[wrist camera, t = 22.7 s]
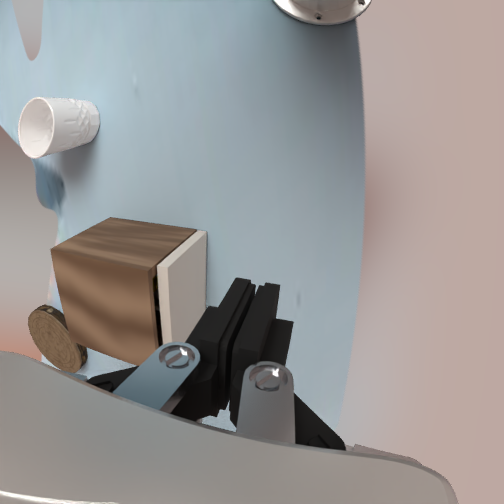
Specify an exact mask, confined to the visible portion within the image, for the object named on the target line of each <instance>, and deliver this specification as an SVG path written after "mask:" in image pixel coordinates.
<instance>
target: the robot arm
mask: <svg viewBox="0 0 504 504" xmlns="http://www.w3.org/2000/svg"><path fill="white" fill-rule="evenodd" d="M273 1H274V2H275V3H276V5H277V6H278V7H279V8H280V9H281V10H282V11H284V12H285V13H287V14H288V15H290V16H291V17H293V18H296V19H298V20H300V21H303V22H307V23H310V24H317V25H335V24H341V23H345V22H348V21H351V20H353V19H354V18H356V17H358V16H360V15H361V14H362V13H363V12H364V11H365V10H366V9H367V8H368V6H369V5H370V3H371V1H372V0H273ZM359 4H362V5H363V6H361V5H359ZM318 17H319V18H321V20H317V18H318ZM255 288H256V285H255V284H251V280H248V279H242V278H235V280H234V282H233V283H232V285H231V287H230V288H229V290H228V292H227V293H226V295H225V297H224V298H223V300H222V302H221V304H220V305H219V307H213V306H208V308H207V309H206V310H205V312H204V313H203V315H202V317H201V318H200V320H199V321H198V323H197V324H196V326H195V327H194V329H193V330H192V332H191V334H190V335H189V337H188V338H187V340H186V341H185V343H184V342H171V343H167V344H164V345H162V346H161V347H159V348H158V349H157V350H156V351H155V352H154V353H153V354H152V355H150V356H149V357H148V358H147V359H146V360H145V361H144V362H143V363H142V364H141V365H140V366H136V367H132V368H128V369H124V370H120V371H115V372H111V373H107V374H102V375H98V376H95V377H92V378H90V379H89V380H88V379H87V376H84V375H80V374H75V373H70V372H66V371H62V370H58V369H56V368H54V367H52V366H49V365H47V364H45V363H42V362H40V361H38V360H36V359H33V358H30V357H27V356H25V355H21V354H18V353H14V352H6V351H0V504H458V501H457V498H456V495H455V492H454V490H453V488H452V486H451V484H450V483H449V482H448V481H447V479H446V478H444V477H443V476H442V475H441V474H439V473H438V472H436V471H434V470H432V469H430V468H428V467H425V466H422V464H421V463H419V462H418V461H417V460H415V459H413V458H410V457H405V456H401V455H396V454H392V453H388V452H384V451H380V450H376V449H372V448H368V447H365V446H361V445H357V444H355V445H354V447H352V446H348V445H345V444H344V442H343V440H342V439H341V438H340V437H339V436H338V435H337V434H336V433H335V432H334V431H333V430H332V429H331V428H330V427H329V426H328V425H327V424H325V423H324V422H323V421H322V420H321V419H320V418H319V417H318V416H317V415H316V414H315V413H314V412H313V411H312V410H311V409H310V408H309V407H308V406H307V405H306V404H305V403H304V402H303V401H302V400H301V399H300V398H299V397H298V396H297V395H296V394H295V393H294V384H293V376H292V374H291V372H290V371H289V370H288V369H287V368H286V367H285V364H286V359H287V354H288V349H289V344H290V339H291V333H292V328H293V321H287V320H281V319H276V313H277V306H278V299H279V291H280V285H277V284H271V283H265V285H264V286H261V285H259V287H258V290H257V292H256V294H255ZM229 399H230V402H229ZM228 402H229V411H230V420H231V422H232V423H233V424H234V426H235V427H236V428H237V429H236V432H233V431H229V430H225V429H221V428H217V427H213V426H209V425H205V424H202V418H204V417H207V416H214V417H217V415H218V413H219V410H220V409H222V410H225V409H226V407H227V404H228Z"/></svg>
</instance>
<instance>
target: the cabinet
mask: <svg viewBox="0 0 504 504" xmlns="http://www.w3.org/2000/svg"><path fill="white" fill-rule="evenodd" d="M196 232H197V229H190V228H183V227H176V226H169V225H162V224H155V223H148V222H141V221H134V220H126V219H119V218H112V217H110V218H108V219H106V220H104V221H102V222H100V223H98V224H96V225H94V226H92V227H91V228H89V229H87V230H85V231H83V232H81V233H79V234H77V235H75V236H73V237H72V238H70V239H68V240H66V241H64V242H62V243H61V244H59V245H57V246H55V247H53V248H52V249H51V255H52V261H53V267H54V272H55V277H56V282H57V287H58V291H59V296H60V300H61V304H62V309H63V313H64V317H65V320H66V324H67V328H68V332H69V335H70V339H71V341H73V342H75V343H78V344H80V345H82V346H85V347H87V348H90V349H93V350H95V351H98V352H100V353H103V354H106V355H108V356H111V357H114V358H117V359H119V360H122V361H125V362H128V363H131V364H134V365H137V366H140V365H141V364H142V363H143V362H144V361H145V360H146V359H147V358H148V357H149V356H150V355H152V354H153V353H154V352H155V351H156V350H157V349H158V348H159V347H161V346H162V345H163V337H162V327H161V316H160V311H158V310H155V306H154V294H153V281H152V278H153V277H154V276H155V275H156V274H157V265H158V264H160V263H161V262H162V261H163V260H164V259H165V258H166V257H168V256H169V255H170V254H171V253H172V252H173V251H174V250H176V249H177V248H178V247H179V246H180V245H181V244H183V243H184V242H185V241H186V240H187V239H188V238H190V237H191V236H192V235H193V234H194V233H196Z"/></svg>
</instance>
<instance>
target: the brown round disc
mask: <svg viewBox="0 0 504 504" xmlns="http://www.w3.org/2000/svg"><path fill="white" fill-rule="evenodd" d="M28 326H29V330H30V334H31V336H32V338H33V340H34V342H35V344H36V345H37V347H38V348H39V350H40V351H41V353H42V354H43V355H44V356H45V357H46V359H47V360H49V361H50V362H51V363H52V364H53V365H54V366H56V367H57V368H59V369H61V370H62V371H66V372H70V373H75V372H77V371H78V370H79V369H80V368H81V367H82V366H83V365H84V364H85V363H86V360H87V356H88V355H87V349H86V347H85V346H82V345H80V344H78V343H75V342H73V341H71V339H70V335H69V332H68V328H67V324H66V320H65V317H64V314H63V313H61V312H60V311H59V310H57V309H55V308H54V307H52V306H47V305H46V304H44V305H42V306H40V307H38V308H37V309H36V310H34V311H33V312H32V313H31V314H30V316H29V318H28Z"/></svg>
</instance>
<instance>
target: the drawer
mask: <svg viewBox="0 0 504 504" xmlns="http://www.w3.org/2000/svg"><path fill="white" fill-rule="evenodd" d="M206 245H207V231H200V230H198V231H197V232H196V233H194V234H193V235H192V236H191V237H190V238H188V239H187V240H186V241H185V242H184V243H183V244H181V245H180V246H179V247H178V248H177V249H176V250H174V251H173V252H172V253H171V254H170V255H169V256H168V257H166V258H165V259H164V260H163V261H162V262H161V263H160V264H158V265H157V274H158V289H157V290H156V291H155V292H154V293H153V294H154V306H155V310H158V311H160V316H161V327H162V337H163V345H164V344H167V343H171V342H184V343H185V341H186V340H187V338H188V337H189V335H190V334H191V332H192V330H193V329H194V327H195V326H196V324H197V323H198V321H199V320H200V318H201V317H202V315H203V313H204V312H205V310H206Z"/></svg>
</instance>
